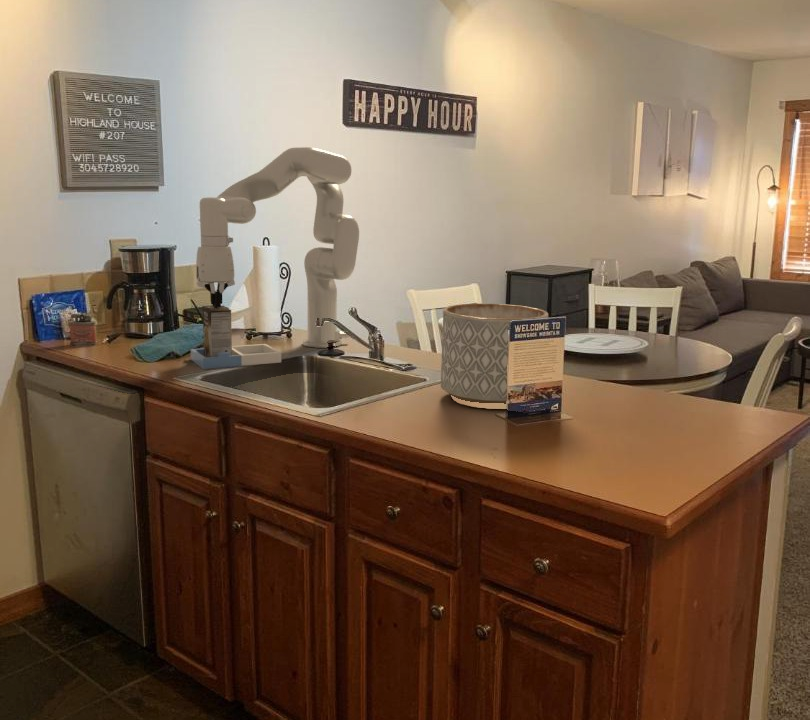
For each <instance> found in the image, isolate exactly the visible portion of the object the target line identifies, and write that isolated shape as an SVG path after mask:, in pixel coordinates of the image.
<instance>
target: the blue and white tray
mask: <svg viewBox="0 0 810 720" xmlns="http://www.w3.org/2000/svg"><path fill="white" fill-rule="evenodd" d="M217 356H218V357H206V358H205V357H204V347H203V348H191V349H190V360H191V361H192V362H194V363H195V364H196V365H197V366H199V367H200V368H201V369H203V370H208V369H218V368H220V369H221V368H229V367H230V368H233V367H243V366H253V365H254V366H255V365H265V364H266V365H267V364H277V363H278V364H279V363H282V352H281V351H280V350H278V349H276V348H274V347H273V346H270V345H268V344H267V343H257V344H245V345H232V356H229V353H228V352H221V353H217Z"/></svg>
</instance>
